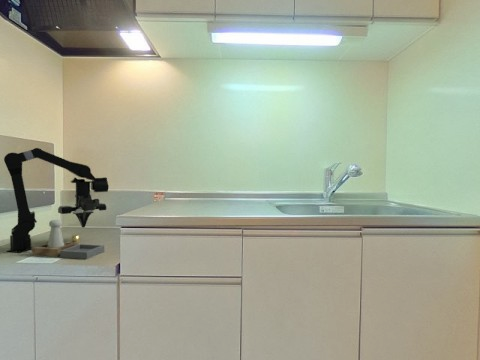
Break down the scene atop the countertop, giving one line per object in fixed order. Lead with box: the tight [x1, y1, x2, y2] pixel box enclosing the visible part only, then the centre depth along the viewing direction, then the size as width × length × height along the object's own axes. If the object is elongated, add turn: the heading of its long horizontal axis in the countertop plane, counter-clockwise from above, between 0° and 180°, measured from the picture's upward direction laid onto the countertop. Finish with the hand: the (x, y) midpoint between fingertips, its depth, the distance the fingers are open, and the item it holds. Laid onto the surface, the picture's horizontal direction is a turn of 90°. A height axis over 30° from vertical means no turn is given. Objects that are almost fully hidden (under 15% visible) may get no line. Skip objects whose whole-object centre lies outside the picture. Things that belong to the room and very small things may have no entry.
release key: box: [64, 234, 80, 246], centre depth 129 cm, size 3×9×4 cm, turn 171°
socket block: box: [31, 241, 78, 258], centre depth 121 cm, size 11×11×3 cm
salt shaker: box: [47, 219, 65, 248], centre depth 121 cm, size 6×6×13 cm
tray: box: [59, 243, 105, 260], centre depth 119 cm, size 11×11×2 cm
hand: (83, 227), depth 137 cm, fingers closed
